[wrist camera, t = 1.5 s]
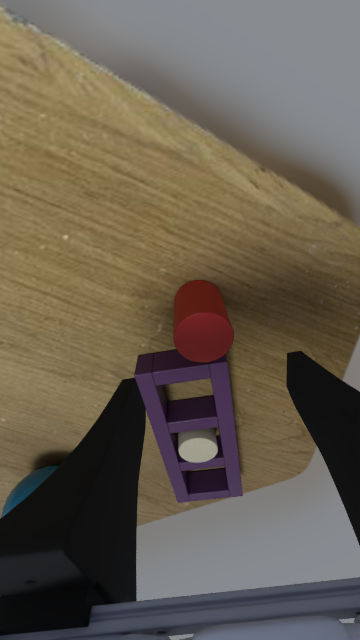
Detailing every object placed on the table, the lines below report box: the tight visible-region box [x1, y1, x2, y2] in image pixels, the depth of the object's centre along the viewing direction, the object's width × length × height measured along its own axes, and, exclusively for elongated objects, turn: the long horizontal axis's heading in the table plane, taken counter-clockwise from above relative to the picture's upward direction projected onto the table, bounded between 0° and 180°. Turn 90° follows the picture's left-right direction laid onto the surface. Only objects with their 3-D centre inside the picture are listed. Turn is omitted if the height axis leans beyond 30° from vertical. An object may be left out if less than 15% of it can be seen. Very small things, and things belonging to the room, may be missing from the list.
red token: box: [174, 280, 234, 362], centre depth 18 cm, size 4×4×5 cm
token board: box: [134, 350, 243, 503], centre depth 26 cm, size 7×19×2 cm, turn 10°
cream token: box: [178, 428, 218, 463], centre depth 26 cm, size 4×4×3 cm
